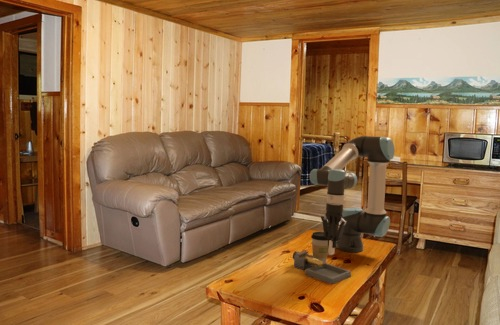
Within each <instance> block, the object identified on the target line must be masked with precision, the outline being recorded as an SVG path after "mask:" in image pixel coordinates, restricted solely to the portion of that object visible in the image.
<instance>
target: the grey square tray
mask: <svg viewBox="0 0 500 325" xmlns="http://www.w3.org/2000/svg"><path fill="white" fill-rule="evenodd" d="M304 273H305V275H306V276H309V277H311V278H313V279H317V280H318V281H322V282H325V283H326V284H329V285H335V284H337V283H339V282H341V281H343V280H346V279H348V278H350V277H351V276H352V271H351V270H348V269H345V268H343V267H339V266H336V265H334V264H332V263H331V264H330V263H328V262H326V263H324V266H323V267H322V268H321V267H318V266H315V265H313V267H311V268H308V269H306V270H305V272H304Z"/></svg>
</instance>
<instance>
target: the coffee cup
mask: <svg viewBox="0 0 500 325" xmlns="http://www.w3.org/2000/svg"><path fill="white" fill-rule="evenodd" d="M311 244H312V245H311V247H312V248H311V249H312V256H313V258H314V259H318V260H321V261H323V262H324V263H327V260H328V259H327V258H328V256H329V254H328V252H329V246H328V239H327V238H325V237H324V231H314V232H312V234H311Z"/></svg>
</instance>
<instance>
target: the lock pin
mask: <svg viewBox="0 0 500 325" xmlns="http://www.w3.org/2000/svg"><path fill="white" fill-rule="evenodd" d="M298 252H299V251H298V250H295V251H294V252H293V254H292V259H293V260H294V255H296V253H298ZM301 256H302V257H305V258H306V262H307V263H310V264H312V265H313V266H318V267H321V268H322V267H323V266H324V262H323V261H321V260H318V259H314V258H311V257H308V256H305V255H301Z"/></svg>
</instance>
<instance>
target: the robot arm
mask: <svg viewBox="0 0 500 325" xmlns="http://www.w3.org/2000/svg"><path fill="white" fill-rule="evenodd" d="M395 151H396V150H395V144H394V142H393V139H392V138H390V137H386V136H371V135H370V136H369V135H361V136H357V137H355V138H352V139H350V140H348V141H347V142H346V143H344V145H343V146H342V148H341V150H339V152H337V153H336V154H335V155H334V156H333V157H332V158H331V159H329V160H328V161H327V163H324V165H323V166H322V167H320V168H313V169H312V170H311V171H310V173H309V180H310V183H311V184H314V185H318V186H324V187H325V186H326V187H327V189H326V190H327V191H326V206H325V211H326V212H325V215H321V216H320V219H321V222H322V229H323V232H324V237H325V238H327V239H328V246H329V249H328V256H333V255H335V253H336V252H335V251H336V250H335V249H338V250H340V251H343V252H347V253H348V252H349V253H360V252H362V251H364V243H363V238H362V234H365V235H370V236H374V237H379V238H382V237H385V236H386V234H387V233H388V232H389V228H390V225H391V218H390V216H387V211H386V209H385V199H386V198H385V195H386V180H387V179H386V177H387V165H388V164H390V163H391V162H390V161H391V160H393V159H394V157H395V156H394V155H395ZM357 158H367V160H366V161H367V163H368V164H369V170H368V171H369V175H368V189H367V190H368V191H367V194H368V195H367V207H366V208H365V209H364V210H363V208H360V207H347V208H344V205H343V204H344V199H345V190H346V189H347V190H348V189H352V188H354V187H355V186H356V185H357V183H358V176H357V175H356V174H355V173H354V172H350V171H347V172H346V170H344V169H345V167H346V166H347V165H348V164H349V163H350V162H351V161H352V160H355V159H357Z"/></svg>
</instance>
